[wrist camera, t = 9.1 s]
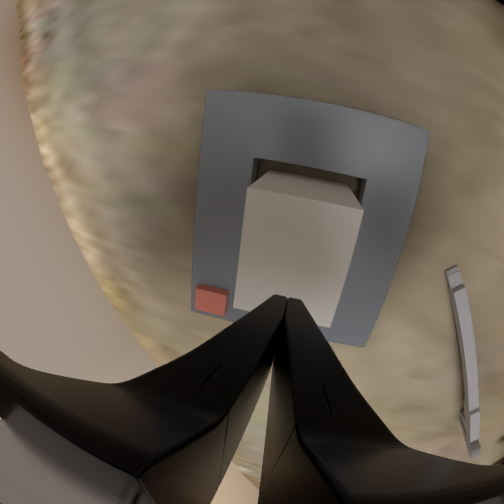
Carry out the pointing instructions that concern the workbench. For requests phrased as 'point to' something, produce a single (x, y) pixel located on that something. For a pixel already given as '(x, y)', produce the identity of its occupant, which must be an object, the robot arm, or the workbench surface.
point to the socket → (311, 155)
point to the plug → (297, 242)
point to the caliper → (466, 360)
